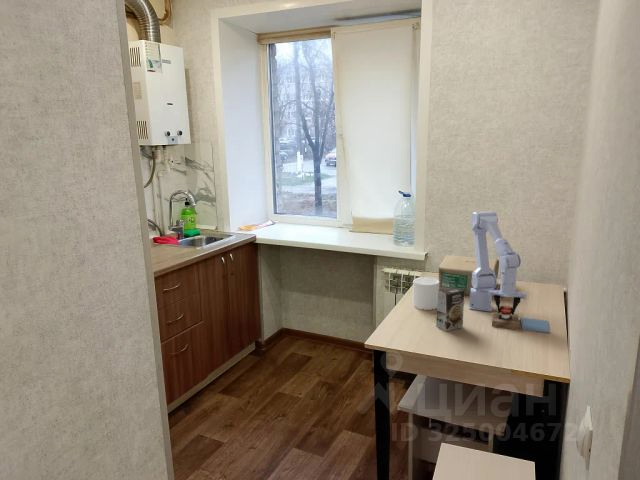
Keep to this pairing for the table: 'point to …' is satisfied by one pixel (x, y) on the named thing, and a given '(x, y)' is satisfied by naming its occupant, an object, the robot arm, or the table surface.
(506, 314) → the red mushroom head
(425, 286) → the cup
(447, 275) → the paper package
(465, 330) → the table surface
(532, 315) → the table surface
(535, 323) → the mat
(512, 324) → the eye block
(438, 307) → the coffee box
